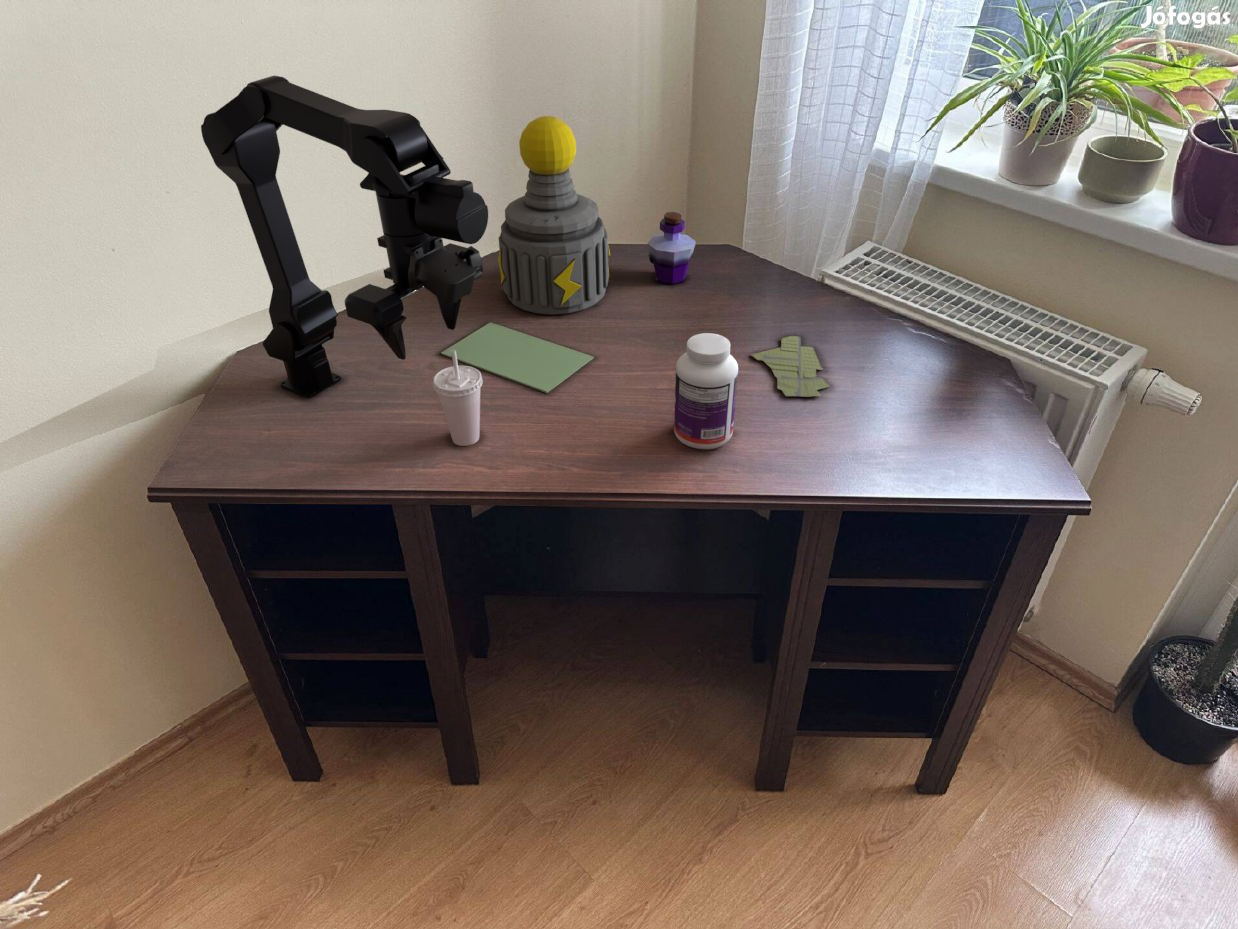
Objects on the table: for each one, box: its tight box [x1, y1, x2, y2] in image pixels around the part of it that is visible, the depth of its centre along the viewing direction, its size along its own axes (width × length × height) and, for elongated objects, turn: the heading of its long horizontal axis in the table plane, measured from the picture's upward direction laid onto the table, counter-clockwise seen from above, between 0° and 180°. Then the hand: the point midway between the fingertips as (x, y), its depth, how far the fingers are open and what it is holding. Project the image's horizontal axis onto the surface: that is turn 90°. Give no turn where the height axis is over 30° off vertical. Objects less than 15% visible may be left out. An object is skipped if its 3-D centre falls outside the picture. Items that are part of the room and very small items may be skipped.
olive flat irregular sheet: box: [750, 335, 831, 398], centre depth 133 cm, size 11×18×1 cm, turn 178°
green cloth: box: [440, 322, 595, 394], centre depth 136 cm, size 21×12×1 cm, turn 56°
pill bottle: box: [673, 332, 739, 450], centre depth 115 cm, size 8×8×14 cm
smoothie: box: [432, 350, 484, 447], centre depth 115 cm, size 6×6×14 cm
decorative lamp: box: [497, 115, 611, 316], centre depth 145 cm, size 19×19×30 cm
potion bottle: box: [647, 211, 697, 286], centre depth 155 cm, size 9×9×12 cm
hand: (427, 343), depth 113 cm, fingers open, 9 cm apart
